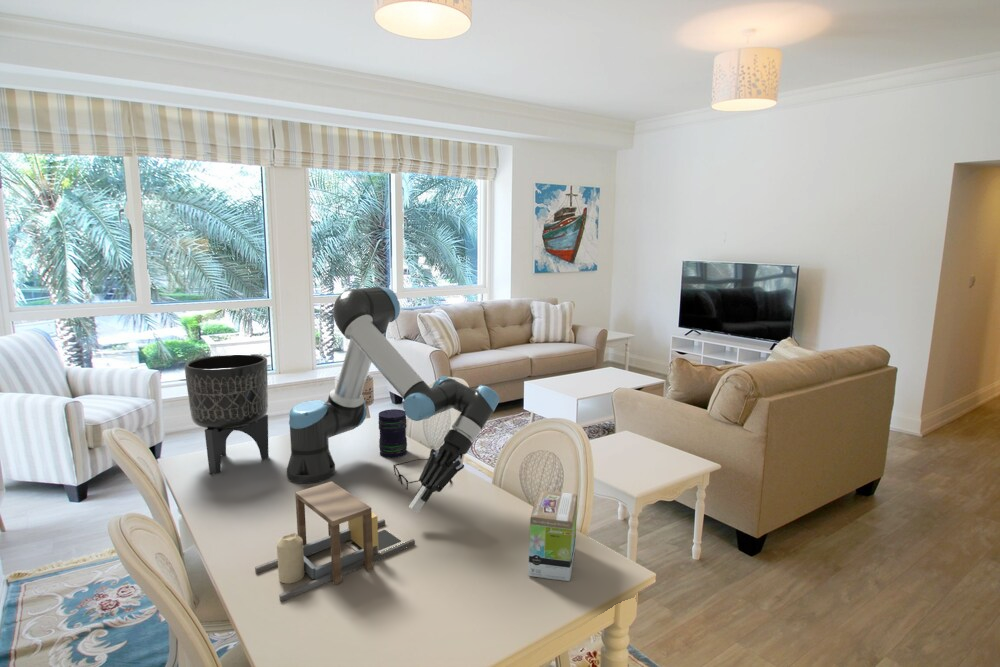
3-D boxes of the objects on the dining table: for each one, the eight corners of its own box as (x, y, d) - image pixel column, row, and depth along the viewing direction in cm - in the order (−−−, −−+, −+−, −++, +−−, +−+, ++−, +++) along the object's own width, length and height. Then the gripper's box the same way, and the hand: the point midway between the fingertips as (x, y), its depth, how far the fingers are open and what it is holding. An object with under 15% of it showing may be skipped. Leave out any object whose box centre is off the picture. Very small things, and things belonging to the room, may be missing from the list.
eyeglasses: (391, 474, 187) (390, 463, 186) (436, 466, 194) (436, 455, 194) (406, 494, 173) (406, 481, 172) (454, 484, 180) (454, 472, 179)
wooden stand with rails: (251, 567, 133) (247, 506, 130) (379, 520, 155) (377, 467, 153) (285, 606, 118) (281, 539, 116) (420, 548, 141) (419, 490, 139)
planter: (180, 463, 195) (171, 361, 189) (251, 443, 213) (245, 351, 208) (212, 483, 179) (204, 373, 173) (286, 460, 198) (281, 360, 192)
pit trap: (346, 543, 143) (345, 542, 143) (385, 528, 151) (385, 527, 151) (365, 558, 136) (365, 558, 136) (406, 542, 144) (406, 541, 144)
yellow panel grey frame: (292, 559, 135) (290, 520, 134) (354, 535, 146) (352, 499, 145) (314, 581, 127) (312, 539, 125) (378, 554, 138) (377, 515, 136)
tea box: (571, 582, 128) (573, 521, 125) (527, 577, 130) (528, 516, 127) (576, 547, 142) (577, 492, 140) (536, 543, 144) (537, 488, 142)
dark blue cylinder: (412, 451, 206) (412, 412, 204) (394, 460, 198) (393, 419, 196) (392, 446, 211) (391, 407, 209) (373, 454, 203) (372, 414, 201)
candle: (297, 567, 133) (294, 527, 131) (309, 576, 129) (307, 535, 128) (274, 577, 129) (271, 536, 127) (286, 587, 125) (283, 545, 124)
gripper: (484, 448, 157) (436, 525, 148) (455, 436, 166) (408, 507, 158) (469, 434, 152) (418, 512, 144) (440, 423, 162) (391, 495, 153)
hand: (413, 509), depth 151 cm, fingers closed
